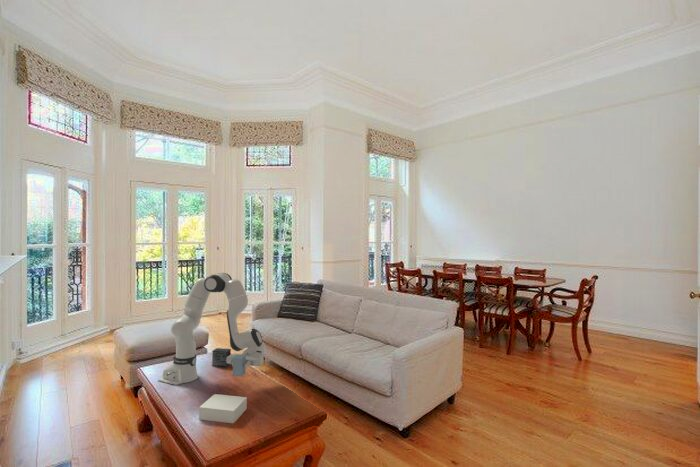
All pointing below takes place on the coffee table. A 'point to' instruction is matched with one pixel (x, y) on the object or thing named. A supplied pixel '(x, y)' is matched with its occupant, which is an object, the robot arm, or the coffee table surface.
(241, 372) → the slate block
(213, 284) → the robot arm
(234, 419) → the base
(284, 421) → the coffee table surface
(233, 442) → the coffee table surface
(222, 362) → the small box
